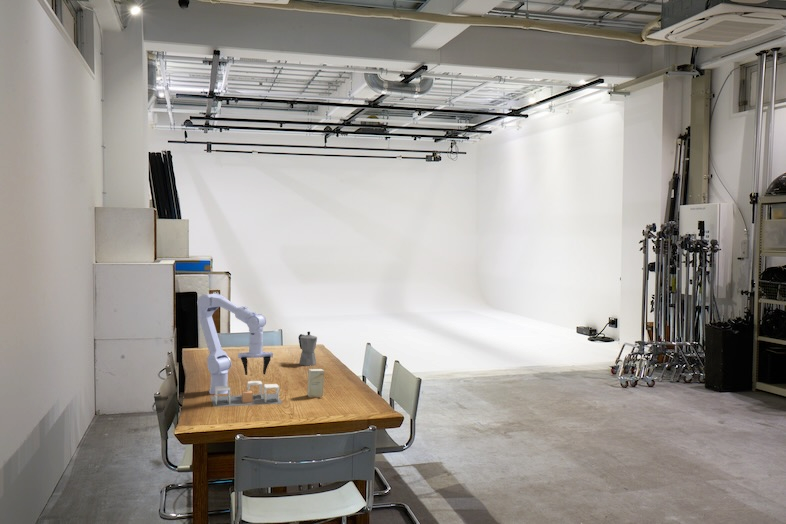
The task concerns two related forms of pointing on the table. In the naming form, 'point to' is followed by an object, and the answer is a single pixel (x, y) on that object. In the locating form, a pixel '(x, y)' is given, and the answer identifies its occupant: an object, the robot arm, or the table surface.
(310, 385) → the skincare box
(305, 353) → the coffeepot
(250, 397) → the cube
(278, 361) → the table surface
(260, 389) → the white u-channel shell
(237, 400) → the mat
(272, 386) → the arch right
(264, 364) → the robot arm
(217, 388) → the arch left
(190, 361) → the table surface
